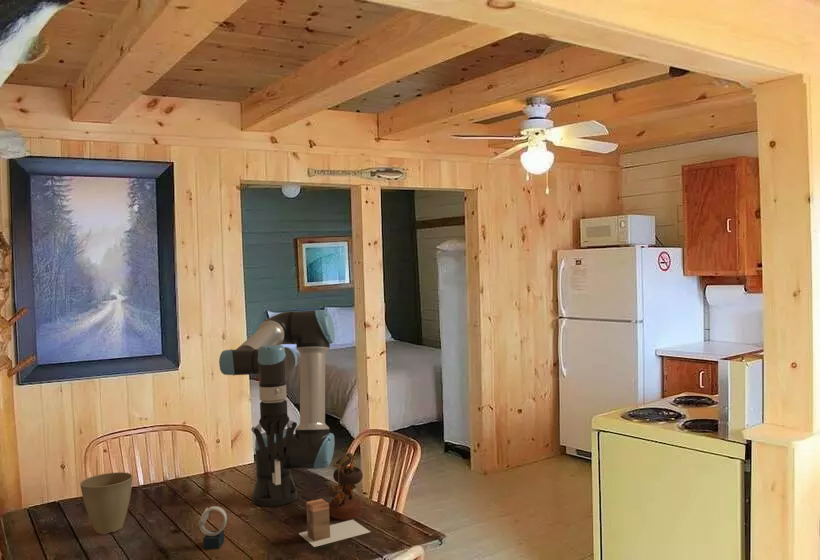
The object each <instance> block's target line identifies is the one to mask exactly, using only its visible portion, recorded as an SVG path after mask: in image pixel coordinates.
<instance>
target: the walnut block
mask: <svg viewBox="0 0 820 560" xmlns="http://www.w3.org/2000/svg"><path fill="white" fill-rule="evenodd" d="M305 504H306V526H307V528H306V529H307V530H306V531H307V532H308V537H310V538H311V539H312V540H313V541H318V540H322V539H326V538H330V525H331V523H330V522H331V520H330V515H329V504H330V502H327V501H326V500H324V499H323V498H319V499H314V500H310V501H306V502H305Z"/></svg>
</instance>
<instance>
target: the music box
mask: <svg viewBox="0 0 820 560" xmlns="http://www.w3.org/2000/svg"><path fill="white" fill-rule="evenodd" d="M353 459H354V454H353V453H351V452H348V453H346V455H344V456H342V457H340V458H339V459H337V461H336V462H335V464H332V467H336V469H335V470H334V471H333V474H332V475H333V477H332V478H333V480H334V481H335V483H337V485H335V487H334V488H335V490H334V491H337V494H336V496H335V497H334V499H332V500H331V501H330V502H329V517H331V518H333V519H335V520H339V521H340V520H341V521H349V520H355V519H357V518H360V517H361V516H362V514H363V503H362V501H360V499H358V498H355V497H353V491H354V489H356V488H357V486H356V485H357V484H359V483H360V482H361V481H362V479H363V477H364V476H363V470H361V468H359V467H356V466H353V464H351V463H352V462H353ZM340 490H341V491H340ZM339 491H340V492H339Z"/></svg>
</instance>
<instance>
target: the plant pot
mask: <svg viewBox="0 0 820 560" xmlns="http://www.w3.org/2000/svg"><path fill="white" fill-rule="evenodd" d="M79 484H80V489H81V490H80V491H81V495H82V498H83V503H84V506H85V510H86V513H87V515H88V518H89V520H90V522H91V525H92V526H93V528H94V530H95V533H96V532H98V533H110V532H115V531H117V530H119V529H121V528H123V526H124V523H125V520H126V517H127V513H128V510H129V505H130V500H131V495H132V493H131V492H132V485H133V474H132V473H130V472H124V471H123V472H119V471H118V472H116V471H115V472H109V473H108V472H106V473H100V474H97V475H93V476H90V477H88V478H85V479H83V480H81V482H79ZM121 530H122V529H121ZM119 531H120V530H119ZM115 533H116V532H115Z"/></svg>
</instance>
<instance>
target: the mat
mask: <svg viewBox="0 0 820 560" xmlns="http://www.w3.org/2000/svg"><path fill="white" fill-rule="evenodd" d="M369 533H371V531H370V530H368V529H367V528H366V527H365V526H363V525H362V524H360V523H358V522H357V521H356V520H355V519H351V520H344V521H342V522H338V523H333V524H330V538H326V539H322V540H318V541H313V540H312V539H311V538H310V537H308V532H307V530H306V531H302V532H299V533H298V534H299V536H300V537H302V538H303V539H304V540H305V541H306V542H308V543H309V544H311V546H312V547H314V548H316V547H319V546H320V547H321V546H324V545H327V544H330V543H332V544H333V543H334V542H340V541H343V540H347V539H350V538H353V537H357V536H362V535H364V534H369Z"/></svg>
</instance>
